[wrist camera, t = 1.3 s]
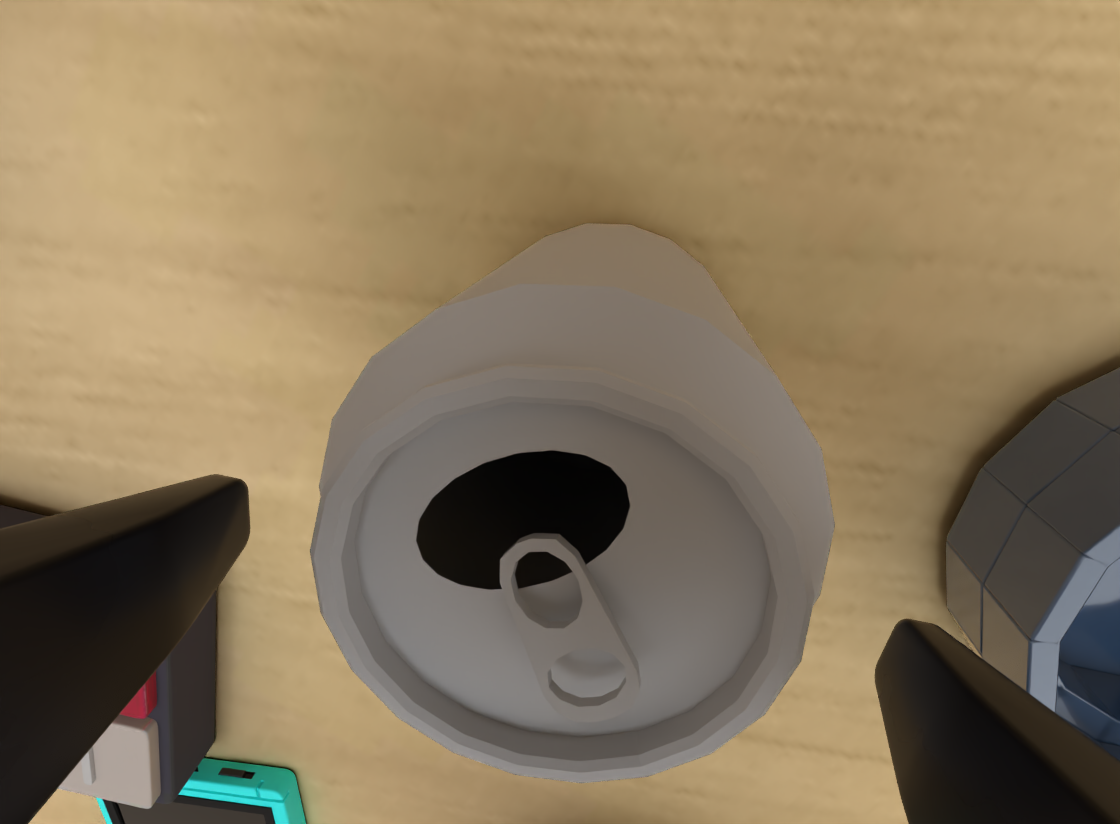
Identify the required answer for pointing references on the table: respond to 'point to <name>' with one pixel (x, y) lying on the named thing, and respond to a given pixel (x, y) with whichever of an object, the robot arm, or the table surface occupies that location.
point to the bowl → (1049, 560)
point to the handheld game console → (221, 798)
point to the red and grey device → (153, 720)
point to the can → (574, 516)
